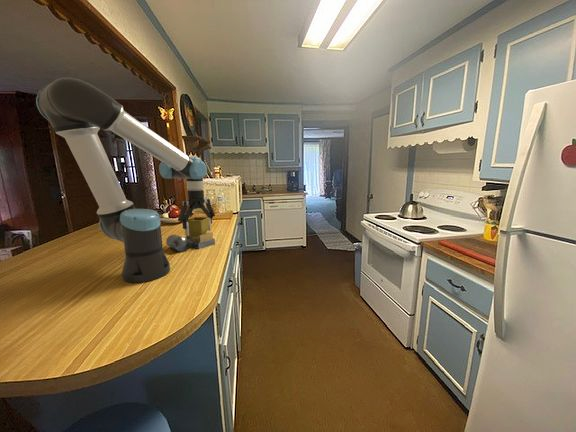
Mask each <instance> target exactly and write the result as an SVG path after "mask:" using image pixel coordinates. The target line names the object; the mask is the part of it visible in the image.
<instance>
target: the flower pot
mask: <svg viewBox="0 0 576 432" xmlns="http://www.w3.org/2000/svg"><path fill="white" fill-rule="evenodd" d="M187 222H188V225H189V234H190V235H191V236H192V237H199V235H202V234H206V233H208V231H209V230H208V228H209V217H207V216H206V217H205V216H199V217H198V216H193V217H189V218H188V220H187Z"/></svg>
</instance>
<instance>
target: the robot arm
mask: <svg viewBox="0 0 576 432" xmlns="http://www.w3.org/2000/svg"><path fill="white" fill-rule="evenodd" d="M36 95H37V96H36V98H35V100H36V101H35V103H36V107H37V110H38V111H39V113H40V114H41V116H42V117H43V118H45V119H46V120H47V121H48V122H49V123H50V125H51V127H52V128H53V131H54V132H55V134H56V135H58V136H60V137H62V138H63V139H65V142H66V144H67V146H68V147H69V150H70V151H71V153H72V155H73V157H74V159H75V161H76V163H77V165H78V167H79V170H80V171H81V173H82V175H83V177H84V179H85V181H86V183H87V185H88V187H89V189H90V191H91V193H92V196H93V197H94V199H95V201H96V203H97V205H98V209H97V211H96V215H97V217H98V219H99V222H98V225H99V229H100V230H101V232H102V233H103V234H104V235H105V236H107V237H108V238H110V239H112V240H116V241H120V242H122V243H123V247H124V248H123V249H124V255H125V258H124V263H123V266H122V270H121V277H122V280H123V281H124V282H126V283H131V284H133V283H134V284H136V283H138V284H139V283H144V282H145V283H146V282H151V281H155V280H157V279H160V278H162V277H164V276H166V275H168V274H169V272H171V265H170V261H169V259H168V257H167V255H166V254H165V251H164V247H163V238H162V229H161V226H162V225H161V219H160V214H159V213H158V211H156V210H154V209H150V208H149V209H148V208H136V207H135V204H134V202H133V201H131V200H128V199H127V198H126V196H125V193H124V191H123V189H122V187H121V184H120V183H119V182H120V181H119V180H118V177H117V175H116V172H115V171H114V169H113V167H112V164H111V162H110V160H109V157H108V155H107V152H106V150H105V148H104V146H103V144H102V142H101V139H100V137H99V135H98V132H99V131H100V130H103V131H110V132H113V134H116V135H117V136H118V137H121V138H122V139H123V140H125V141H126V142H128V143H131V144H132V145H134V146H136V147H137V148H138V149H140V150H142V151H143V152H145V153H147V154H148V155H151V156H152V157H154V158H155V159H157V160H159V161H160V163H159V166H158V170H159V175H160V176H161V177H162V178H163V179H185V180H186V188H187V201H184V200H182V201H181V208H180V211H179V214H178V219H177V222H180V223H181V224H182V229H183V230H184V235H185V236H186V235H187V236H189V225H188V222H187V220H188V219H190V216H191V214H192V212H193V211H194V210H196V209H201V211H202V212H203V213H204V214H205V215H206V217H209V228H208V231H209V232H210V231H211V232H212V224H213V218H214V217H215V216H216V214H215V212H214V209H213V207H212V204H211V200H210V198H204V197H205V192H204V191H205V190H204V178H205V177H206V175H207V172H208V169H207V168H208V167H207V165H206V164H205V162H204V161H202V159H201V158H200V157H194V156H193V157H190V156H189V155H187V154H186V153H184V152H183V151H182V150H180V149H179V148H178V147H176V146H174V144H172V143H170V142H169V141H168V140H166V139H165V138H163V137H162V136H160V135H159V134H157V133H156V132H155V131H153V130H152V129H150V128H149V127H148V126H146V125H145V124H143V123H142V122H141V121H139V120H137V119H136V118H135V117H133V116H132V115H130V113H128V112H127V111H125V110H124V106H123V105H122V104H121V103H120V102H118V101H117V100H115V99H114V98H113V97H111V96H109V95H108V94H107V93H105V92H104V91H102V90H101V89H99V88H97V87H96V86H94V85H92V84H90V83H88V82H86V81H84V80H82V79H79V78H76V77H75V78H74V77H68V76H67V77H60V78H57V79H56V80H54V81H52V82H51V83H49V84H47V85H44V86H43V87H42V88H41V89H40V90H39V91H38V93H37V94H36ZM204 203H205V204H204ZM206 207H207V208H206Z"/></svg>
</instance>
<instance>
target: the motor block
mask: <svg viewBox="0 0 576 432" xmlns="http://www.w3.org/2000/svg"><path fill="white" fill-rule="evenodd" d="M213 233H214V232H212V231H211V232H210V231H209V232H207V233H206V234H202V235H199V237H192V236H191V235H190V234H189V236H187V235H185V237H182V236H180V235H177V234H170V235H169V236H168V237H167V238H166V241H165V244H166V246H168V247H169V248H171V249H173V250H175V251H177V252H180V253H183V252H186V251H188V250H189V249H190V248H195V249H197V250H200V249H204V248H208V247H211V246H215V245H216V241H215V240H216V239H215V238H214V236H213V235H214V234H213Z"/></svg>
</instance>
